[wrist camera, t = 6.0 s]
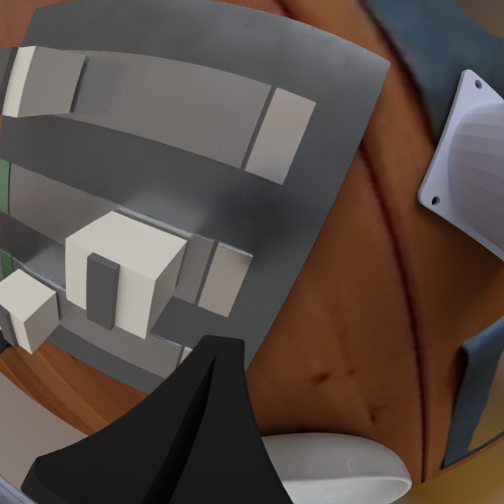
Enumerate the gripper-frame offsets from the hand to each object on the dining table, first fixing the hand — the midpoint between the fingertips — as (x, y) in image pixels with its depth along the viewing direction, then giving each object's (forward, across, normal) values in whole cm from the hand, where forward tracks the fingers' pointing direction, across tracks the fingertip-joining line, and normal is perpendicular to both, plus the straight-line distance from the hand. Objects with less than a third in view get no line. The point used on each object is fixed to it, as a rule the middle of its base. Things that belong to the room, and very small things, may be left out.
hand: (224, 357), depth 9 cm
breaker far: (+4, +14, +3) cm, 15 cm away
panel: (+6, +8, -2) cm, 10 cm away
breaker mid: (+4, +5, -2) cm, 7 cm away
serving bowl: (+6, -6, +21) cm, 22 cm away
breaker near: (+4, +10, -11) cm, 15 cm away
